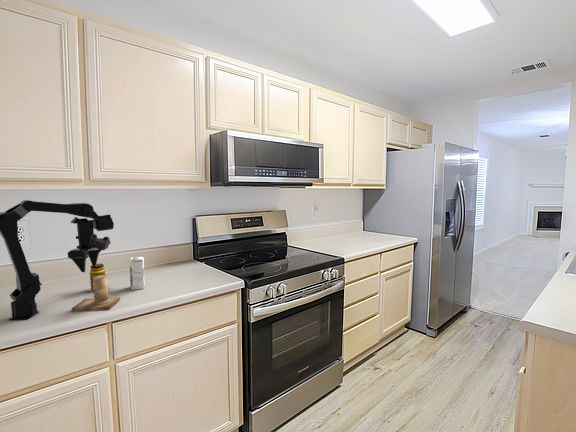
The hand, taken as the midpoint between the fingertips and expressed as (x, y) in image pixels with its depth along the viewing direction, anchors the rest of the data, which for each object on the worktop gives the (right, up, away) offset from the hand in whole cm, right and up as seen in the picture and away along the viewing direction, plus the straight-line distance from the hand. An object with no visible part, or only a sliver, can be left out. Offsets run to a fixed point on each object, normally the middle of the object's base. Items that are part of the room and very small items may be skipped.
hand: (89, 268), depth 135 cm
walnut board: (+7, -14, -6) cm, 16 cm away
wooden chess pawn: (+9, -13, -6) cm, 16 cm away
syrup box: (+13, -12, +16) cm, 24 cm away
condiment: (-5, -12, +14) cm, 19 cm away
